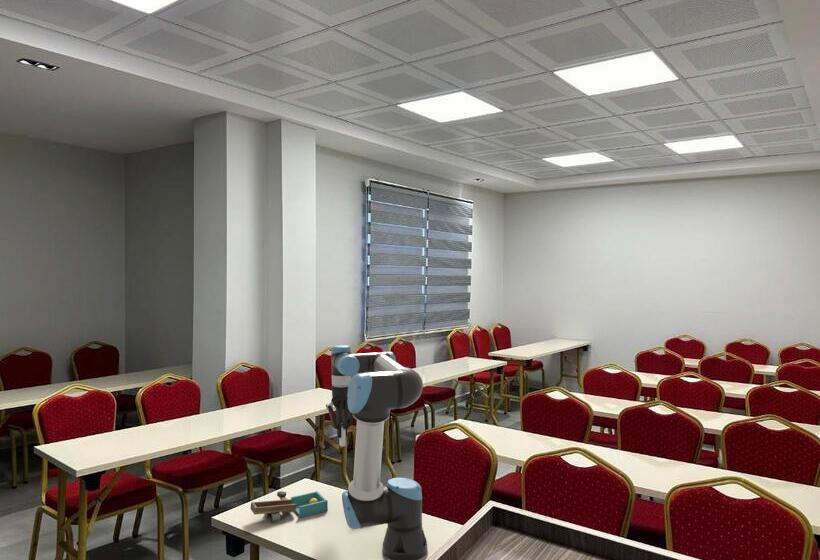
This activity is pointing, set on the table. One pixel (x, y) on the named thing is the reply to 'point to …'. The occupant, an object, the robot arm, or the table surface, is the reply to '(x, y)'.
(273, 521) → the stand
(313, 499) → the ball
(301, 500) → the tray
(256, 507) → the lever
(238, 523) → the table surface
